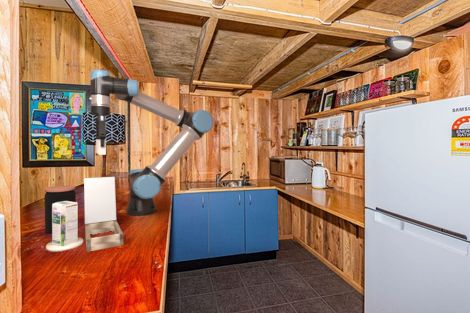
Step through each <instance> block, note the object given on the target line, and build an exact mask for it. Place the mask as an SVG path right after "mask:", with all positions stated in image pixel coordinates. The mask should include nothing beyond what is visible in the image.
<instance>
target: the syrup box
mask: <svg viewBox="0 0 470 313" xmlns="http://www.w3.org/2000/svg"><path fill="white" fill-rule="evenodd" d="M78 204H79V203H78V202H77V201H76V202H69V201H62V202H57V203H54V204H52V234H51V235H52V236H51V237H52V238H51V239H52V240H51V242H52V244H56V245H60V246H65V245H68V244H71V243H73V242H76V241H78V237H79V236H78V235H79V234H78V233H79V232H78V230H79V229H78V228H79V227H78V226H79V225H78V223H79V222H78V221H79V219H78V218H79V217H78V215H79V214H78V209H79V208H78Z"/></svg>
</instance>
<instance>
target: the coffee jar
mask: <svg viewBox="0 0 470 313" xmlns="http://www.w3.org/2000/svg"><path fill="white" fill-rule="evenodd" d="M43 189H44V190H43V191H44V192H45V193H44V231H45V232H46V233H47V234H49V235H52V204H54V203H57V202H62V201H69V202H77V201H76V199H77V198H76V197H77V196H76V195H77V194H76V191H75V190H76V185H53V186H47V187H44V188H43Z"/></svg>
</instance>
